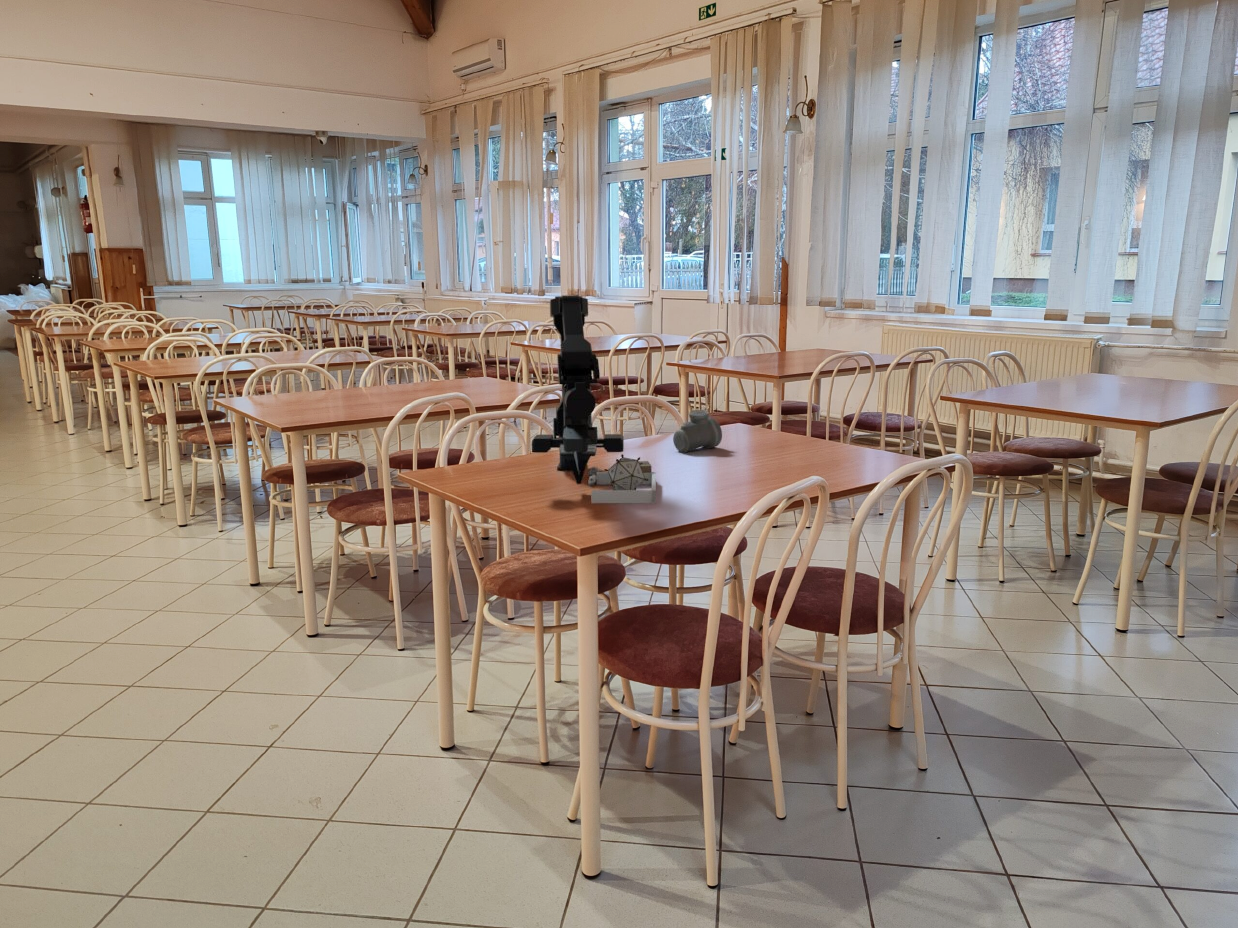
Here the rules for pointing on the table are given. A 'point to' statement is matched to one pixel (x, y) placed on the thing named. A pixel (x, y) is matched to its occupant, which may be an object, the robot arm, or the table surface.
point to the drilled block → (645, 466)
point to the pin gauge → (592, 475)
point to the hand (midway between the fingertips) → (579, 483)
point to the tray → (624, 491)
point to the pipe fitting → (698, 432)
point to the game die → (626, 474)
